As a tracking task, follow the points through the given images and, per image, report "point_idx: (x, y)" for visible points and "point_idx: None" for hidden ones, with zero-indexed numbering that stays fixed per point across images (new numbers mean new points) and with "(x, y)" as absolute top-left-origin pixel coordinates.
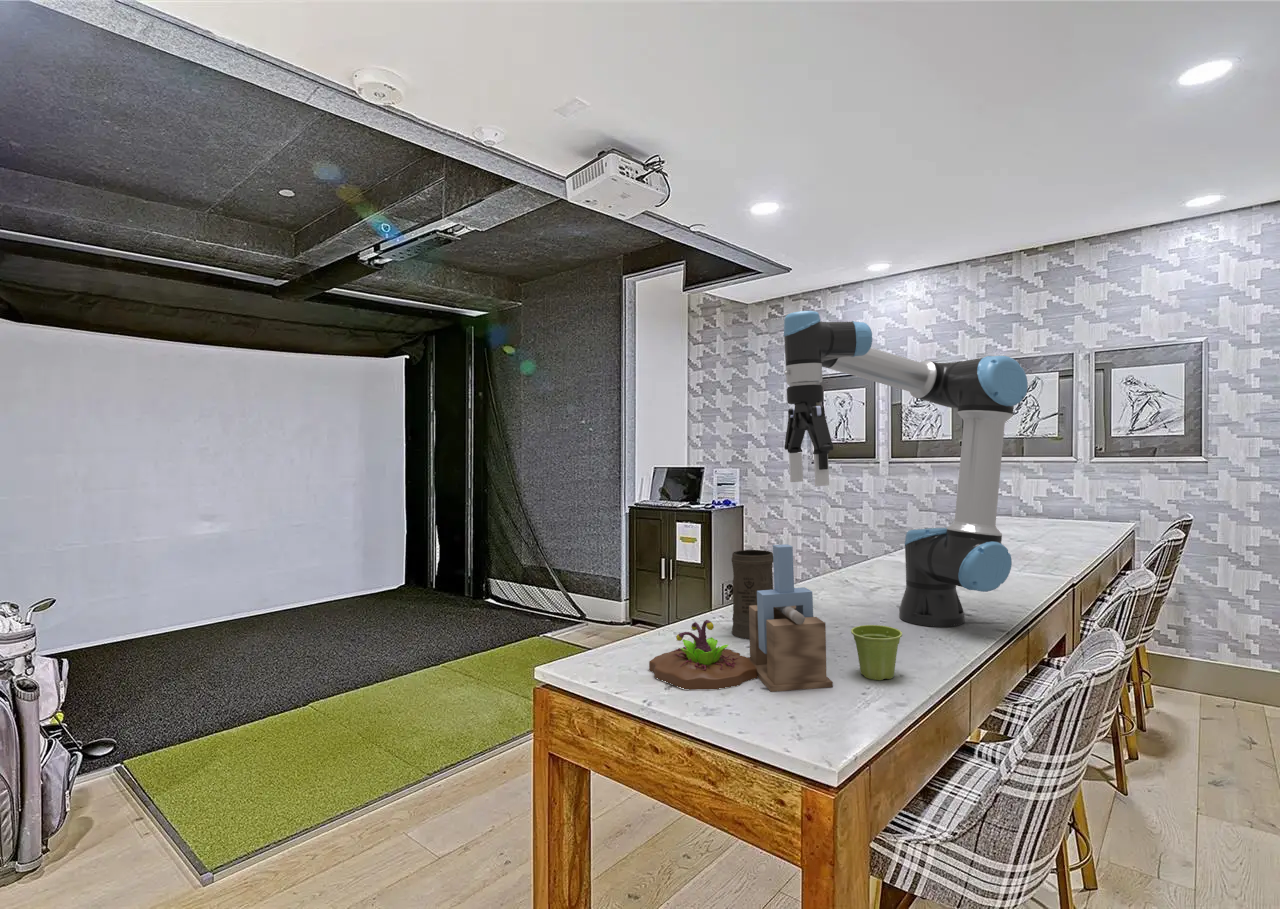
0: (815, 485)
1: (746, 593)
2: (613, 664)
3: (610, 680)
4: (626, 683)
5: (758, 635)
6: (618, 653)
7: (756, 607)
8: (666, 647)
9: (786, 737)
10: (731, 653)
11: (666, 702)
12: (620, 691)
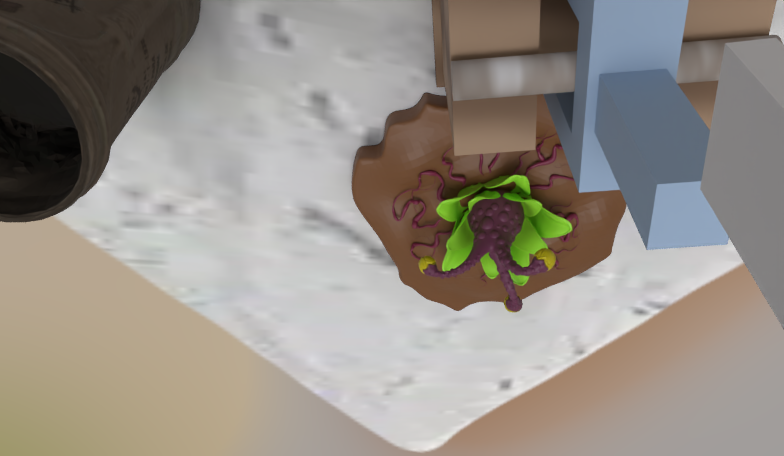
0: (706, 190)
1: (143, 96)
2: (402, 356)
3: (505, 361)
4: (530, 337)
5: (548, 108)
6: (322, 347)
7: (488, 136)
8: (278, 253)
9: None
10: (438, 130)
11: (662, 278)
12: (573, 346)
